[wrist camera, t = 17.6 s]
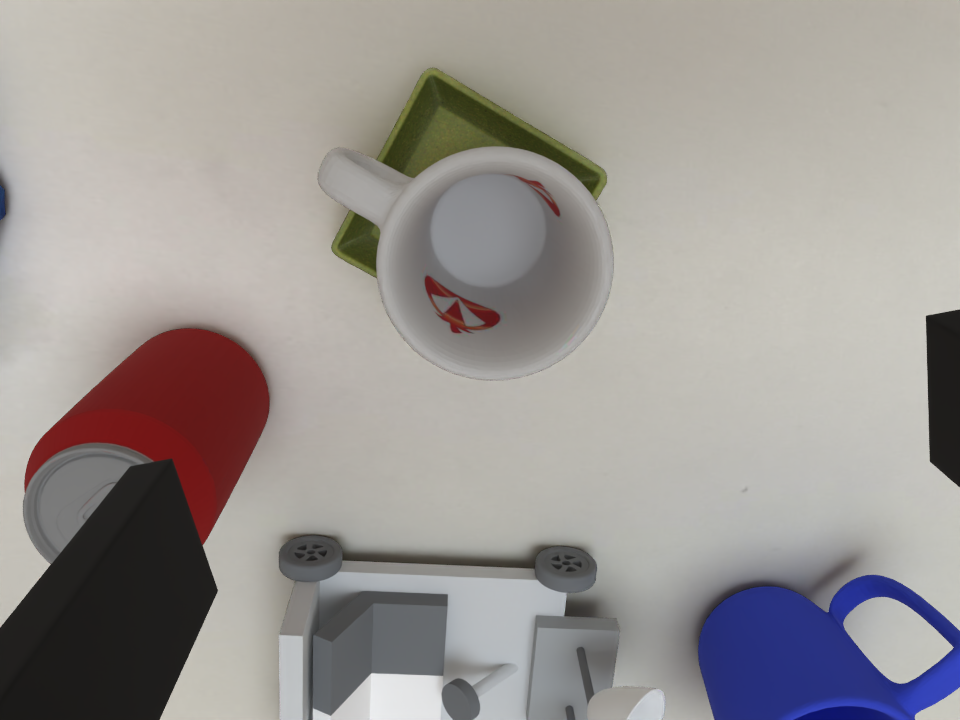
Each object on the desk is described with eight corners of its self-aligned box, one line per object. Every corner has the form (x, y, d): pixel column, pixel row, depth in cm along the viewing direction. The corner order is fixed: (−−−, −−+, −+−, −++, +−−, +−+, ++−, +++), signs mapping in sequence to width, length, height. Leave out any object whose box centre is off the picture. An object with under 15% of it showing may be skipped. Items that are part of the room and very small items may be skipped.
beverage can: (97, 390, 41) (-41, 518, 29) (192, 292, 39) (85, 387, 28) (209, 483, 42) (119, 638, 31) (304, 392, 41) (246, 521, 30)
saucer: (429, 61, 36) (428, 62, 34) (604, 168, 38) (613, 174, 36) (333, 241, 39) (327, 251, 37) (502, 334, 40) (505, 348, 38)
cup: (298, 235, 37) (257, 281, 29) (382, 56, 34) (361, 56, 27) (524, 348, 38) (541, 420, 31) (617, 186, 36) (660, 220, 29)
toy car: (694, 678, 35) (656, 895, 39) (643, 548, 44) (617, 733, 48) (239, 662, 34) (245, 884, 38) (285, 533, 43) (286, 722, 47)
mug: (926, 589, 46) (1049, 727, 36) (743, 722, 48) (814, 884, 39) (833, 487, 43) (938, 607, 34) (647, 632, 46) (697, 781, 37)
